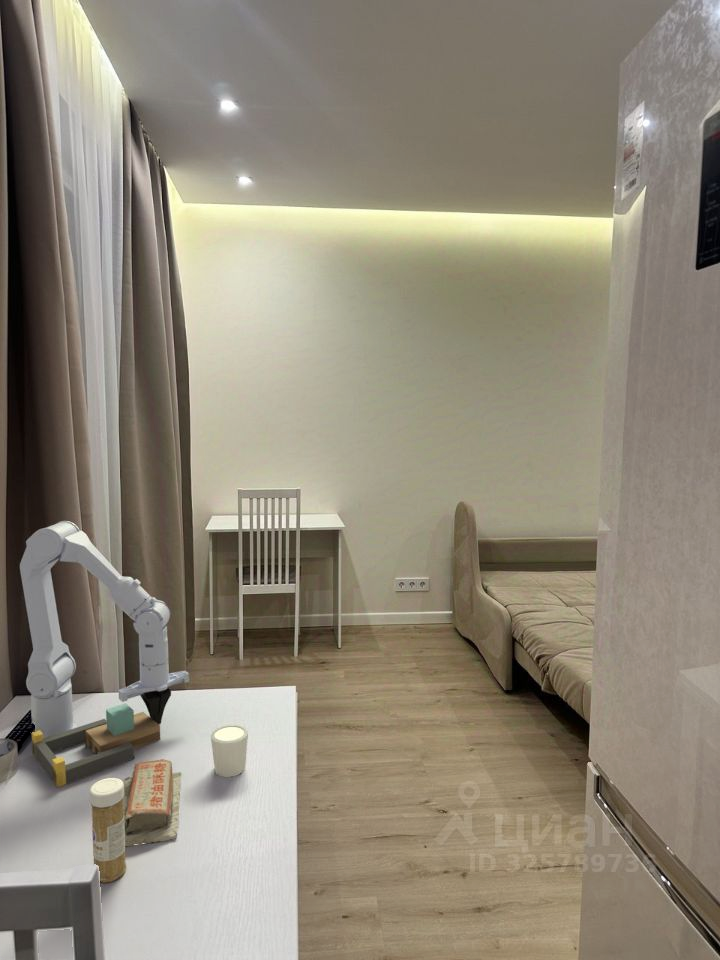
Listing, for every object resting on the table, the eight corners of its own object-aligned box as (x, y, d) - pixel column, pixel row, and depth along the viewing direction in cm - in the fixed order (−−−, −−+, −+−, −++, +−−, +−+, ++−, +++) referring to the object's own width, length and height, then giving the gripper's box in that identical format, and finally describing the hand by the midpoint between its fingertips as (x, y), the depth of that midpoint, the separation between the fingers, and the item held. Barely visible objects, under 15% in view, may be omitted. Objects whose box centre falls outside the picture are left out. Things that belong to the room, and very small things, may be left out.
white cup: (231, 754, 123) (230, 720, 123) (256, 766, 119) (255, 731, 119) (203, 770, 118) (202, 735, 117) (228, 783, 114) (228, 746, 113)
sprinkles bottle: (87, 874, 91) (83, 786, 90) (117, 857, 95) (113, 772, 93) (103, 889, 88) (99, 799, 87) (133, 871, 92) (129, 784, 90)
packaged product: (123, 760, 113) (180, 753, 116) (124, 785, 114) (181, 778, 116) (109, 822, 96) (176, 813, 98) (110, 852, 96) (177, 842, 99)
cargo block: (106, 728, 127) (106, 709, 127) (126, 721, 130) (125, 703, 130) (114, 735, 125) (113, 716, 124) (134, 729, 127) (133, 710, 127)
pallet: (86, 744, 127) (85, 730, 127) (143, 725, 135) (143, 711, 135) (101, 760, 121) (100, 746, 121) (160, 739, 129) (159, 725, 129)
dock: (32, 753, 123) (31, 732, 123) (104, 730, 133) (103, 710, 132) (57, 787, 112) (56, 764, 112) (133, 758, 122) (133, 737, 121)
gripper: (127, 676, 123) (130, 742, 125) (195, 657, 133) (196, 718, 134) (113, 665, 128) (116, 729, 130) (179, 648, 138) (181, 707, 140)
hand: (156, 723), depth 133 cm, fingers closed
